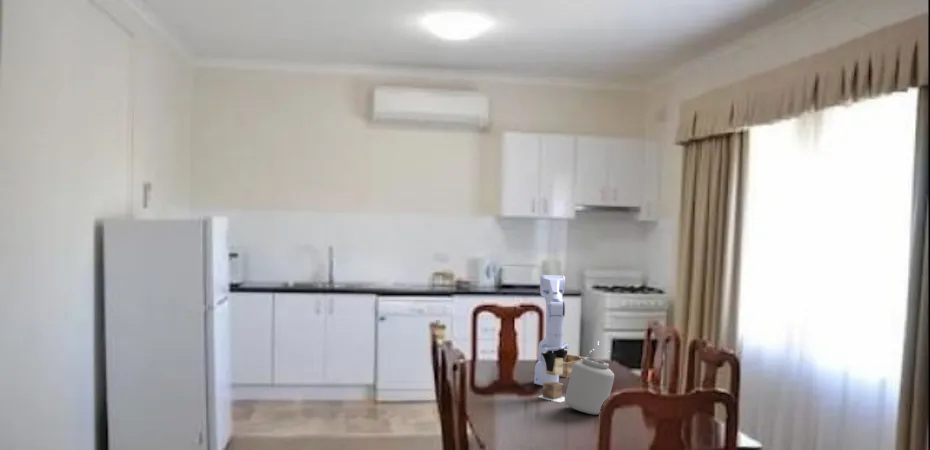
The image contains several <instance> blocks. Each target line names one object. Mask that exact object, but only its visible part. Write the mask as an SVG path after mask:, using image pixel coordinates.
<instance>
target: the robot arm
mask: <svg viewBox="0 0 930 450" xmlns="http://www.w3.org/2000/svg"><path fill="white" fill-rule="evenodd" d="M539 278H540V279H539V289H540V290H539V293H540V296H542V297H543V298H544V300H545V338H543V339H542V340H540V341H539V343H538V349H537V360H538V361H537V362H536V364H535V366H534V379H533V380H534V382H533V381H532V383H533V384H536V385H538V386H543V383H546V382H550V381H553V382H557V383H561V382H559V381H560V380H559V379H560V376H559V375H557V376H553V375H549V374H546V367H547V371H551V372H552V371H553V366H554V360H555V357H560V358H563V360H564V358H565V356H566V354H568V350H569V343H567V342H564V317H565V316H566V304H565V301H564V300H563V298H564V297H563V295H564V294H565V288H566V277H565V276H564V274H562V275H554V274H553V275H552V274H551V275H549V274H541V275H540V277H539ZM561 384H562V386H563V385H564V384H563V383H561Z"/></svg>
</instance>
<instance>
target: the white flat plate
mask: <svg viewBox="0 0 930 450" xmlns="http://www.w3.org/2000/svg"><path fill="white" fill-rule="evenodd" d="M537 398H538V399H539V398H540V399H543V400H547V401H550V400H551V402H555V403H557V404H559V403H564V402H565V396H562V397H560V398H557V399H550V398H546V397H543V394H542V395H538V396H537Z"/></svg>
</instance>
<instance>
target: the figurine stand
mask: <svg viewBox="0 0 930 450" xmlns="http://www.w3.org/2000/svg"><path fill="white" fill-rule="evenodd" d="M583 357H584V356H579V355H575V354H570V353H567V354H566V356H565V358H564V360H563V374H561V375H559V377H561V378H562V377H563V378H570V375H571V371H572V367H573V364H574V363H575V362H578V361H583ZM581 359H582V360H581Z"/></svg>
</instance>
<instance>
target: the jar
mask: <svg viewBox="0 0 930 450" xmlns="http://www.w3.org/2000/svg"><path fill="white" fill-rule="evenodd" d="M599 343H600V341H597V345H598V346H599V345H600V344H599ZM592 350H593V351H595V349H594V348H593V349H592ZM592 350H590V353H591V352H592ZM608 352H609V353H610V352H611V351H610V350H609V351H608ZM608 352H607V354H609V353H608ZM582 357H583V361H578V362H575V363H574V364H573V367H572V371H571V375H570V377H569V380H568V383H567V387H566V391H565V396H564V397H565V401H564V402H565V404H567V406H568V407H569V408H571V409H574V410H576V411H578V412H582V413H584V414H585V413H586V414H589V415H595V416H597V415H599V416H600V414H599V412H600V409H601V406H602V404H603V402H604V401H605V400H606V399H607V398H608V397H609V396H610V397H611V393H612V392H611V391H612V389H613V385H614V381H615V374H614V372H613V371H612V370H611V369H610V368H609V365H610V364H609V363H607V361H606V362H605V361H603V360H600V359H597V358H593V357H587V356H582ZM581 360H582V359H581ZM610 397H609V398H610Z"/></svg>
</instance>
